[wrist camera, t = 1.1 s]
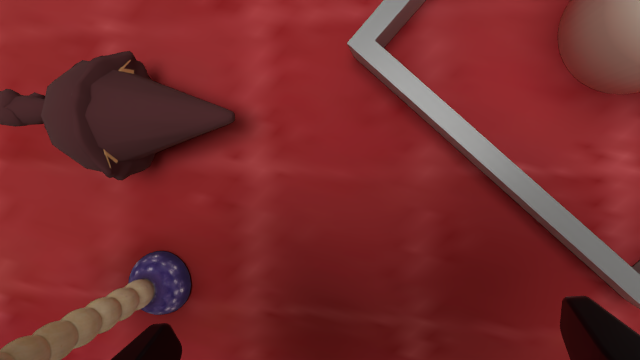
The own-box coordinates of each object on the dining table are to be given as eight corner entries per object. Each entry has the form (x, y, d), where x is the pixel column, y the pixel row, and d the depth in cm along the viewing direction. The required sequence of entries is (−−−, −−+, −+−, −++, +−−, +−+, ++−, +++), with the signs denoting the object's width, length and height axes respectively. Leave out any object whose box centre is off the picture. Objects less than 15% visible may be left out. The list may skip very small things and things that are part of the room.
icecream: (207, 15, 18) (-23, 34, 23) (183, 170, 17) (-56, 160, 21) (267, 79, 25) (79, 84, 29) (252, 195, 24) (59, 183, 28)
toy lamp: (209, 286, 26) (-112, 489, 10) (169, 335, 27) (-189, 597, 11) (159, 237, 27) (-221, 354, 11) (121, 286, 28) (-286, 465, 11)
